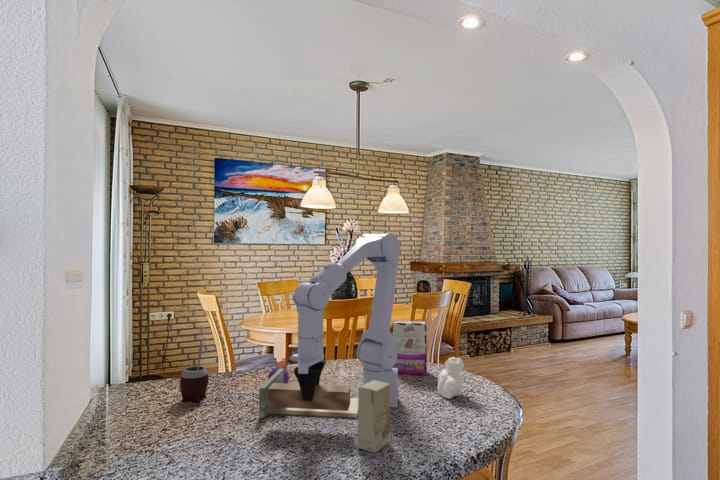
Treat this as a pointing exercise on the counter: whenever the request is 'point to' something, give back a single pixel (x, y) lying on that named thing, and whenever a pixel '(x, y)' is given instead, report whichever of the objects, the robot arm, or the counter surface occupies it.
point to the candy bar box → (410, 347)
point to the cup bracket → (264, 408)
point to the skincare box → (373, 415)
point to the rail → (323, 397)
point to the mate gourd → (194, 381)
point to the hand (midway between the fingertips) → (310, 396)
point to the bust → (450, 378)
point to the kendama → (280, 366)
